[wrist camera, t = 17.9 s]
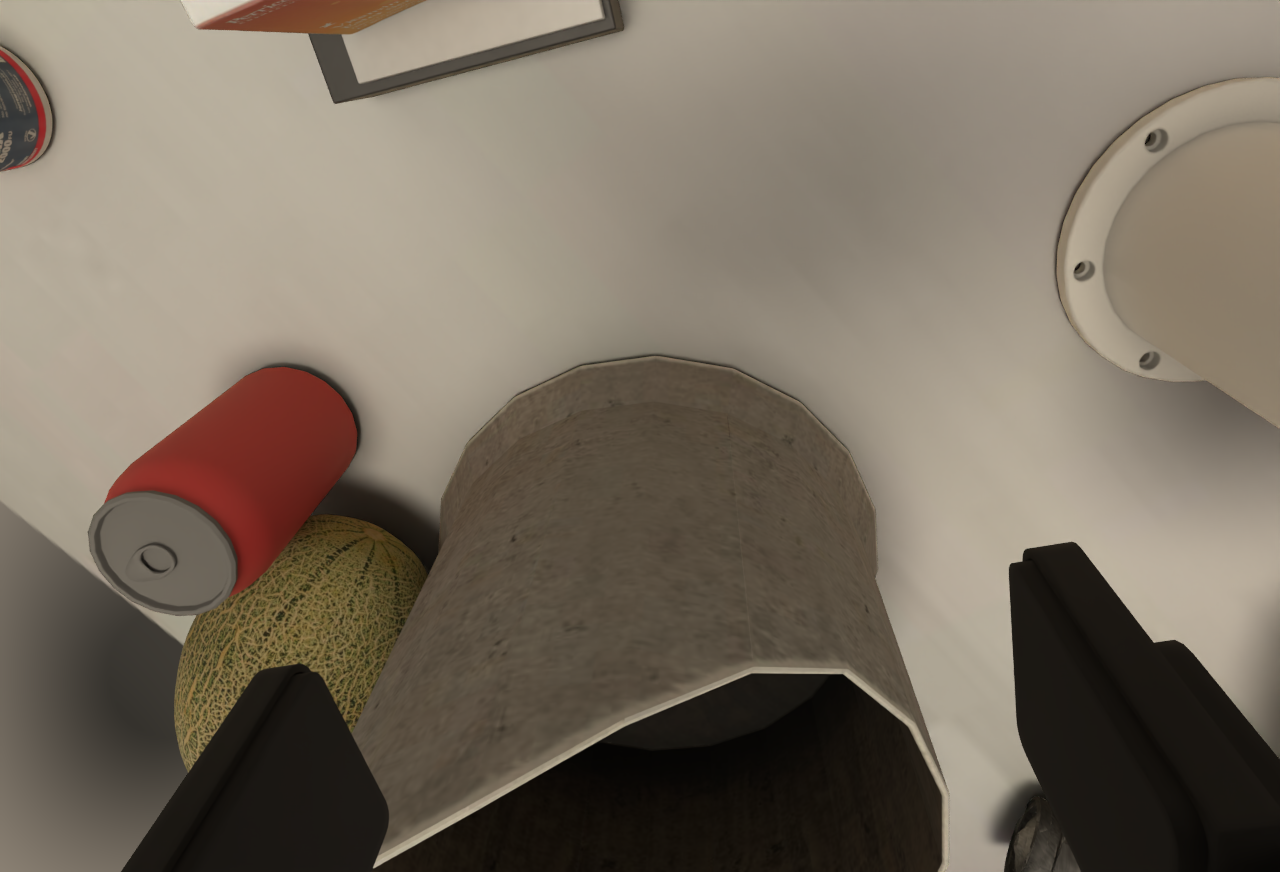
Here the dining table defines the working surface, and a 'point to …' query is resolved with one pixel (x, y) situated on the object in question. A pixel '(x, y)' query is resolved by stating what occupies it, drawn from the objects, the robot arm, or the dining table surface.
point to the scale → (454, 41)
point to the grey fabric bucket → (653, 647)
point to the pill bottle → (21, 114)
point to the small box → (292, 14)
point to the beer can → (223, 492)
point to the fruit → (301, 624)
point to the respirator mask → (1039, 842)
